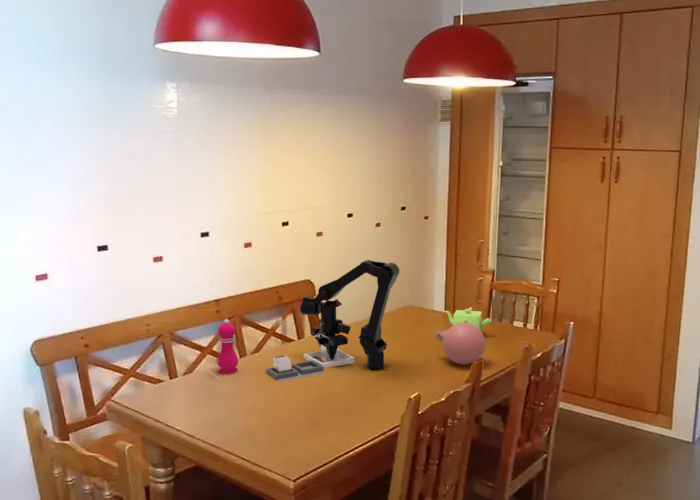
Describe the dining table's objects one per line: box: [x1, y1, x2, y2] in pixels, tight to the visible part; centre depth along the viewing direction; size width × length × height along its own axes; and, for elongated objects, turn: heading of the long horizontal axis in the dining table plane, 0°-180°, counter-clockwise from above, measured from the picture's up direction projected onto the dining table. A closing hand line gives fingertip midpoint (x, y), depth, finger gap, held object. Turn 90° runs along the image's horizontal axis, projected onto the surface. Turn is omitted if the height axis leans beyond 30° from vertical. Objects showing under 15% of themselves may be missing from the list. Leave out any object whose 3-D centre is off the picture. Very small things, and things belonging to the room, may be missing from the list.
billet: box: [272, 355, 292, 374], centre depth 259 cm, size 4×4×6 cm
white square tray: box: [303, 348, 356, 369], centre depth 275 cm, size 14×14×2 cm
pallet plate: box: [264, 360, 326, 382], centre depth 262 cm, size 12×18×3 cm, turn 120°
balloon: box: [434, 323, 486, 366], centre depth 273 cm, size 15×20×15 cm
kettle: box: [443, 306, 492, 332], centre depth 309 cm, size 15×14×11 cm
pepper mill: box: [217, 319, 239, 375], centre depth 261 cm, size 7×7×20 cm
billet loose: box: [320, 344, 337, 363], centre depth 275 cm, size 4×4×6 cm
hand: (329, 357), depth 275 cm, fingers closed on billet loose, 4 cm apart
